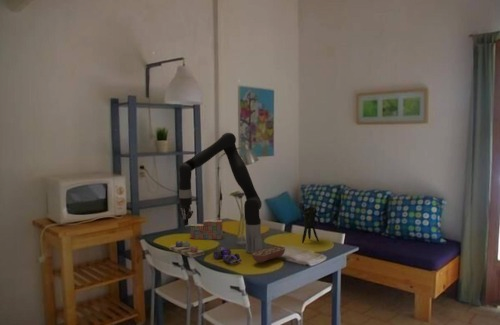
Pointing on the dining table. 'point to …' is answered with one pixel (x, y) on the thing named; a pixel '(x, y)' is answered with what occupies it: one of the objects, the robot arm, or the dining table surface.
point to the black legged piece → (309, 221)
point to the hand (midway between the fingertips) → (186, 225)
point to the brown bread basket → (268, 253)
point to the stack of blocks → (207, 230)
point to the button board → (186, 251)
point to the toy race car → (226, 255)
